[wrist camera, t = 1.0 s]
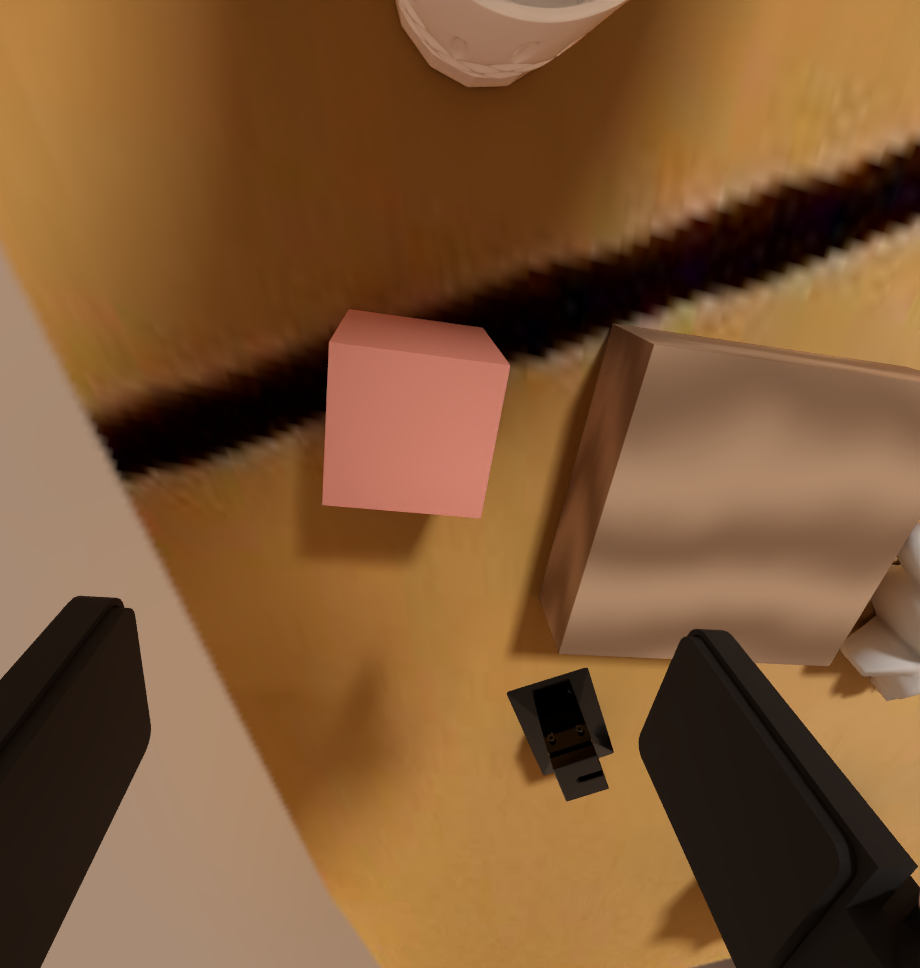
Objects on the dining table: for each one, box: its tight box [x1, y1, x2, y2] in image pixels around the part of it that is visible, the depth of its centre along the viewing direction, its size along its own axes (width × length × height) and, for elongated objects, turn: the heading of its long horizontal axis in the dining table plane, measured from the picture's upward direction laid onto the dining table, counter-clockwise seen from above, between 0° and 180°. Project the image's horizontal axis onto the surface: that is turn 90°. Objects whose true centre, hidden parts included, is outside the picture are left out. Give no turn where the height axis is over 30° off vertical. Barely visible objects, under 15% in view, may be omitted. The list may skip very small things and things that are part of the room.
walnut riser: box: [539, 324, 920, 666], centre depth 27 cm, size 16×16×5 cm
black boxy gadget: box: [507, 668, 614, 801], centre depth 35 cm, size 12×7×5 cm, turn 19°
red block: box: [322, 309, 510, 518], centre depth 22 cm, size 6×6×7 cm
